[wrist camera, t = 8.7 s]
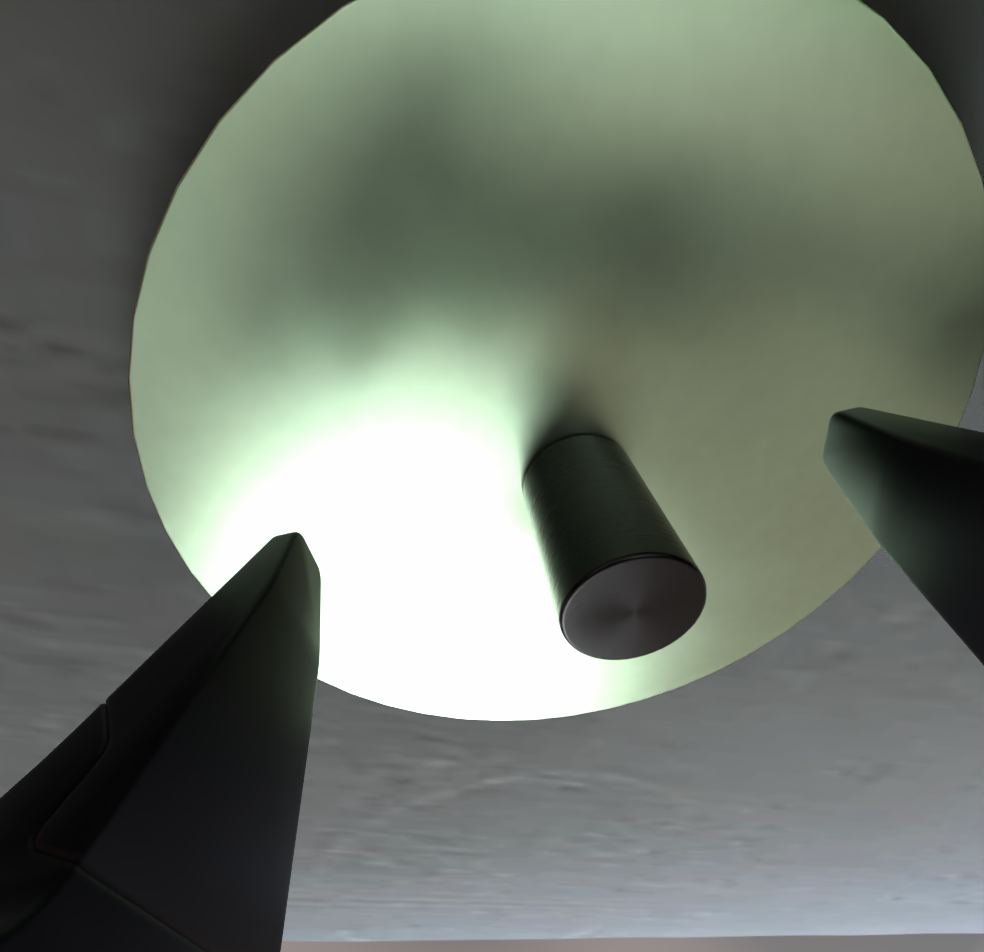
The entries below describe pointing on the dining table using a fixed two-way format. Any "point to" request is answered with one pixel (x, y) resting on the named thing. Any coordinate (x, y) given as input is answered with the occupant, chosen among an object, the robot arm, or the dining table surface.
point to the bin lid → (555, 332)
